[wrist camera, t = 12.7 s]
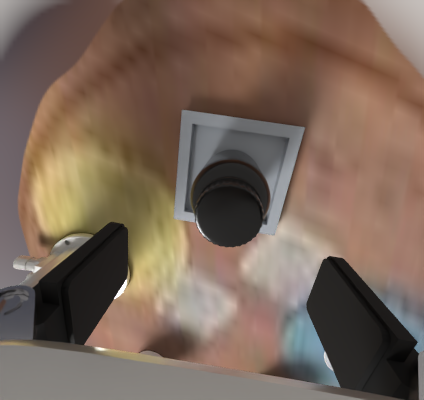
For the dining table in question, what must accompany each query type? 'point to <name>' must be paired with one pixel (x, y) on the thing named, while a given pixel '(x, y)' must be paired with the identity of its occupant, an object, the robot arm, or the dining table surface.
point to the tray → (243, 141)
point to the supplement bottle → (230, 199)
